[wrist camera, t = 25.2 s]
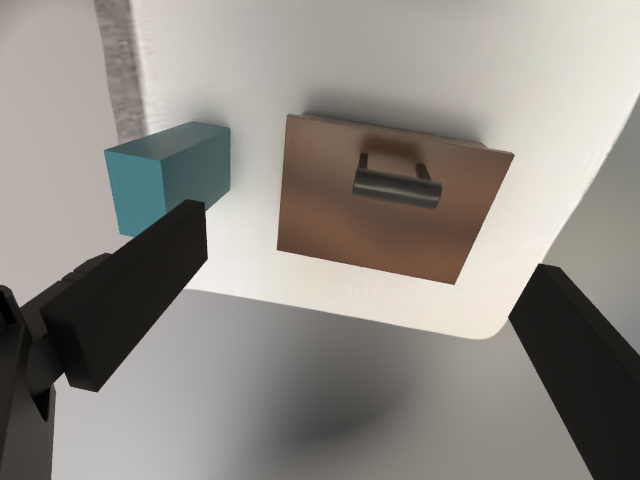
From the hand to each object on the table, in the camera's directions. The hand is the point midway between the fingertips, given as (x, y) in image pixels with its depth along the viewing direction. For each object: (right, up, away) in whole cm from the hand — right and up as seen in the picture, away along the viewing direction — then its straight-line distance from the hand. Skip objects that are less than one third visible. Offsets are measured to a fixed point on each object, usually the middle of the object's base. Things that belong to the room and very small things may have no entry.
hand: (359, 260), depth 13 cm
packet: (-15, +11, +26) cm, 31 cm away
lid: (+4, +4, +18) cm, 19 cm away
